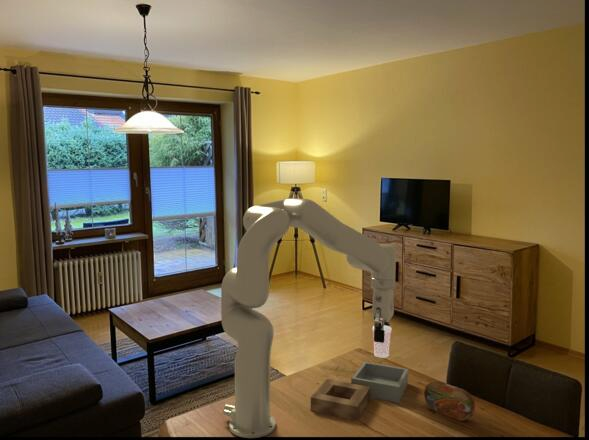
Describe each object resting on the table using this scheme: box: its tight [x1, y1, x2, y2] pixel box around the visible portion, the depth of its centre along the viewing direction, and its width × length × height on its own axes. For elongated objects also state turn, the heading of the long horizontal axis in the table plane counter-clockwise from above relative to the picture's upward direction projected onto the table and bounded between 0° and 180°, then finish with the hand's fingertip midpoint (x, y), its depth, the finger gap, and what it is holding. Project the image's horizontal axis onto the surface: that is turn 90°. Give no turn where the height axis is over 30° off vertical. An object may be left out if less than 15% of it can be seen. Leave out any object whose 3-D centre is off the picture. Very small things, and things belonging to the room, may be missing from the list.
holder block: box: [310, 378, 371, 421], centre depth 142 cm, size 14×14×4 cm
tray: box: [350, 361, 409, 404], centre depth 153 cm, size 15×15×5 cm
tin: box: [423, 381, 476, 422], centre depth 137 cm, size 15×3×8 cm, turn 42°
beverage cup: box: [371, 318, 393, 359], centre depth 152 cm, size 6×6×14 cm
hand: (381, 338), depth 152 cm, fingers closed on beverage cup, 6 cm apart
